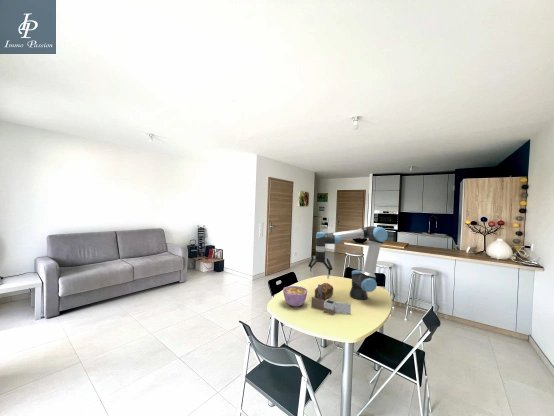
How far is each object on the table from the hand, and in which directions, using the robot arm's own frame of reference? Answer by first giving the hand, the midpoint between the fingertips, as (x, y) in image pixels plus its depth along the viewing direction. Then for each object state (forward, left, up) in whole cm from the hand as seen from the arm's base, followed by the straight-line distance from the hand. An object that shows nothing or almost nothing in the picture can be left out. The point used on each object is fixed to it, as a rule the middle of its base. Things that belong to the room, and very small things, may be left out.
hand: (320, 277), depth 176 cm
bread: (-17, -2, -22) cm, 28 cm away
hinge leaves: (+9, +11, -22) cm, 26 cm away
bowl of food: (+13, -16, -22) cm, 30 cm away
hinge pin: (0, 0, -22) cm, 22 cm away
